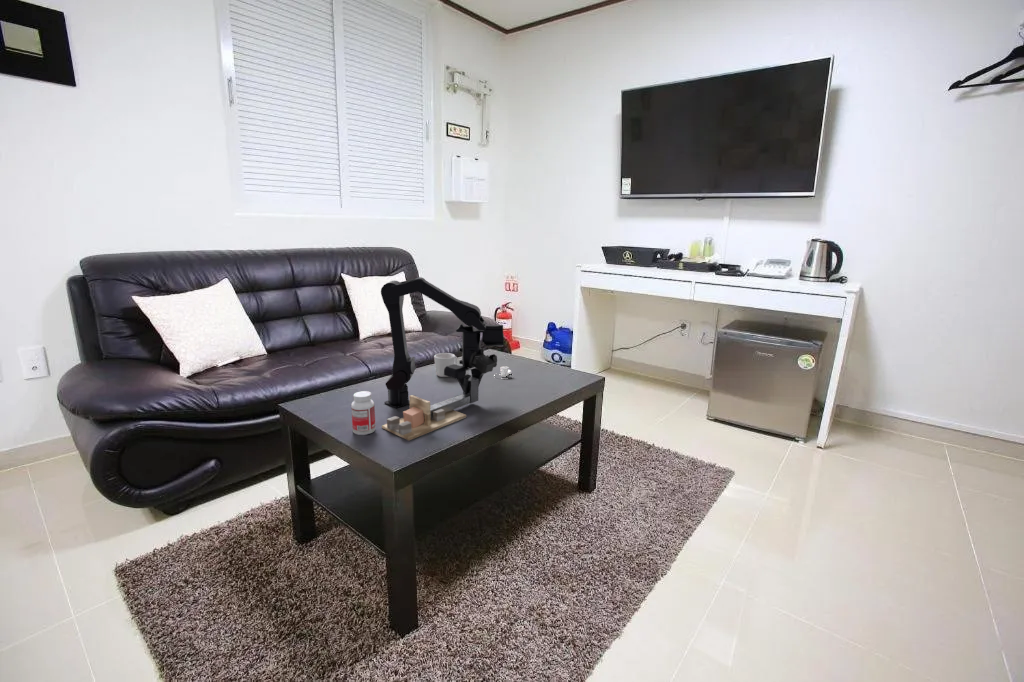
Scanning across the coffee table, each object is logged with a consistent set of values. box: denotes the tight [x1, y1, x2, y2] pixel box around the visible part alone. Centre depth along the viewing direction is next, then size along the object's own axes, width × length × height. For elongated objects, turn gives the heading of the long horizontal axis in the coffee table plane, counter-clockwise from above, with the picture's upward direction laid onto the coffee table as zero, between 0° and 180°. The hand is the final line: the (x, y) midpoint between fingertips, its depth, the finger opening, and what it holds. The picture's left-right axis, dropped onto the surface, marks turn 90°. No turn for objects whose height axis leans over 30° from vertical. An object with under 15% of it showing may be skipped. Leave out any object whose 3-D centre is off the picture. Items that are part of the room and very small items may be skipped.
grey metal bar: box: [423, 376, 480, 421], centre depth 146 cm, size 4×22×8 cm, turn 141°
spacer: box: [402, 407, 424, 428], centre depth 136 cm, size 4×4×4 cm
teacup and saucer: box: [493, 365, 512, 378], centre depth 185 cm, size 9×8×4 cm
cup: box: [433, 352, 459, 378], centre depth 184 cm, size 11×8×8 cm
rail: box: [381, 394, 467, 442], centre depth 139 cm, size 12×22×8 cm, turn 141°
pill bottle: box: [350, 390, 376, 436], centre depth 132 cm, size 6×6×11 cm
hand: (470, 391), depth 154 cm, fingers open, 4 cm apart
